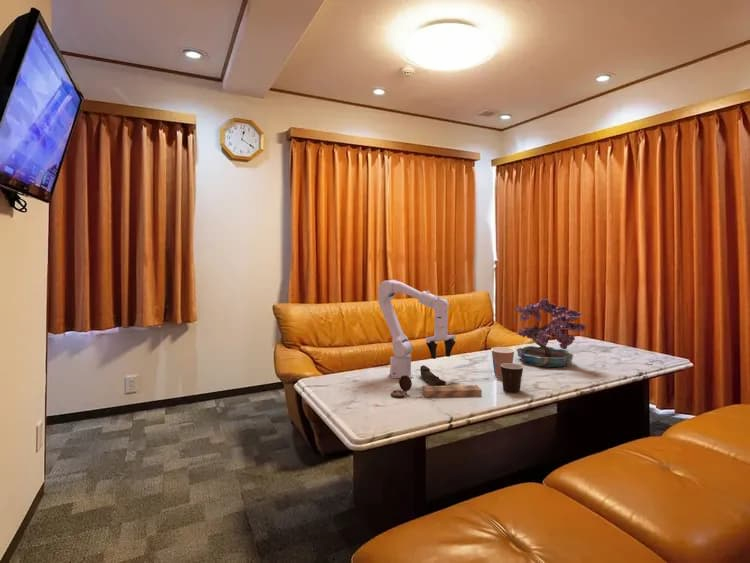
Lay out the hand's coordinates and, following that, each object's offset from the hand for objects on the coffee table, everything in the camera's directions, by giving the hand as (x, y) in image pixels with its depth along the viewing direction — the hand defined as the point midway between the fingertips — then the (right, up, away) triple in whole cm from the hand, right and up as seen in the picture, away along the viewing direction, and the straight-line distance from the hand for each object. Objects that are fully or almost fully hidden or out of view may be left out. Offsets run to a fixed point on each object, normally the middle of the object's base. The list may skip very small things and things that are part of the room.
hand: (440, 357), depth 179 cm
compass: (-18, -12, -18) cm, 28 cm away
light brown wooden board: (+2, -11, -17) cm, 21 cm away
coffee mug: (+25, -11, -14) cm, 31 cm away
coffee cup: (+29, -10, +7) cm, 32 cm away
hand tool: (-5, -11, -3) cm, 12 cm away
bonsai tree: (+58, -9, +27) cm, 65 cm away
